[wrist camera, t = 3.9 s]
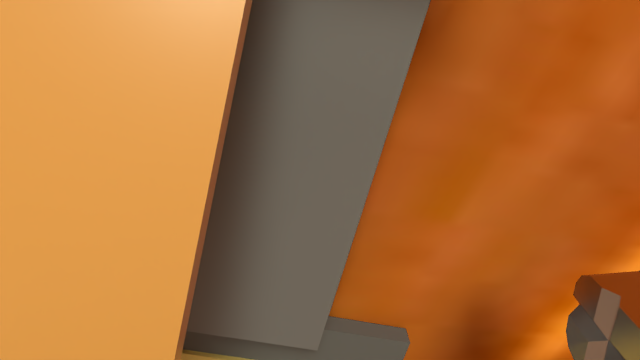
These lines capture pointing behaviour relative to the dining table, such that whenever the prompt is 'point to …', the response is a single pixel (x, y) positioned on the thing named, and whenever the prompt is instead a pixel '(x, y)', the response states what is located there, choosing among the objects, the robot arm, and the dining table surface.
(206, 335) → the pad
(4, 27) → the block
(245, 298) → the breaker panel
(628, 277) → the robot arm
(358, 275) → the dining table surface
